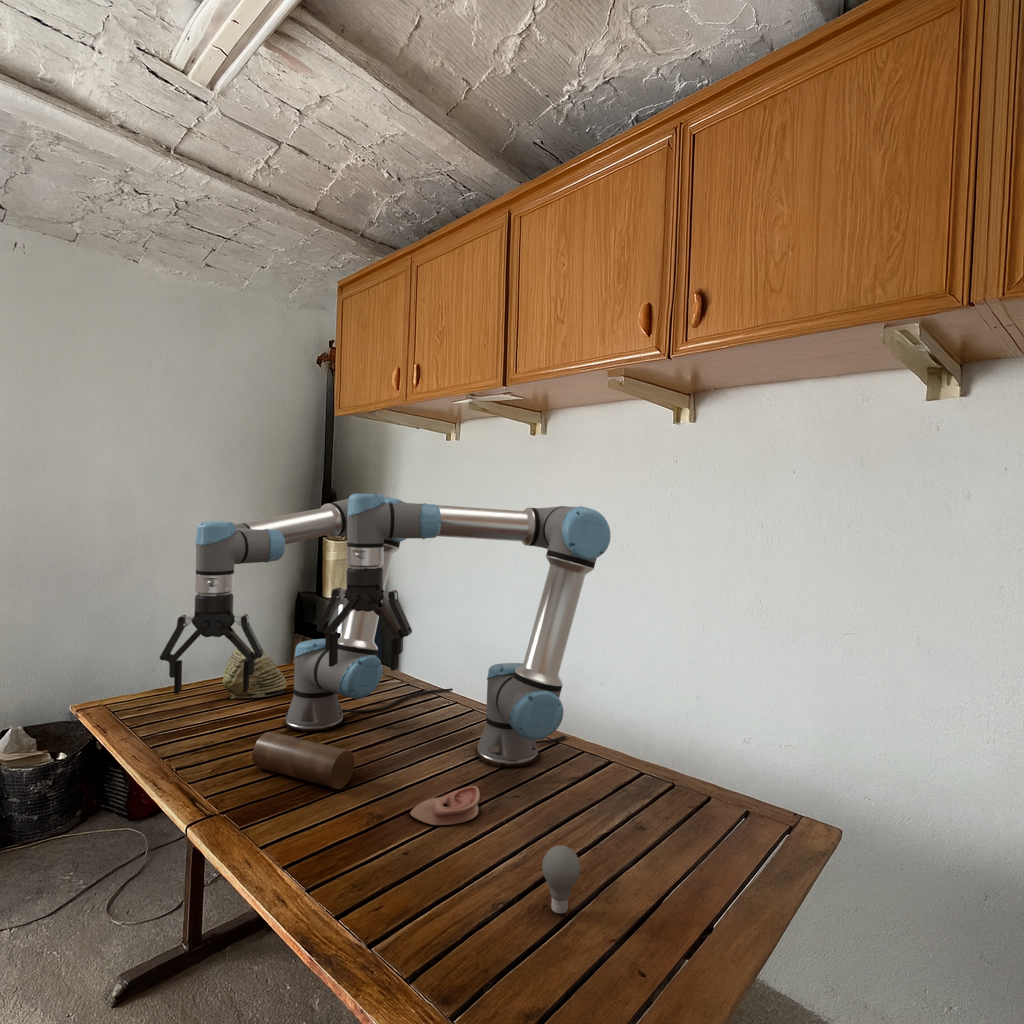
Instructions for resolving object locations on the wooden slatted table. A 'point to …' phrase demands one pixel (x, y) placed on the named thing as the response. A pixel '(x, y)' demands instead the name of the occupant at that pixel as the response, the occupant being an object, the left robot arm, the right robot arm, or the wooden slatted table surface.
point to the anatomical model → (449, 807)
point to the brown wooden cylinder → (304, 759)
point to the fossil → (253, 677)
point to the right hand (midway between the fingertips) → (363, 667)
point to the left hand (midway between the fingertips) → (212, 691)
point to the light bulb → (560, 875)
